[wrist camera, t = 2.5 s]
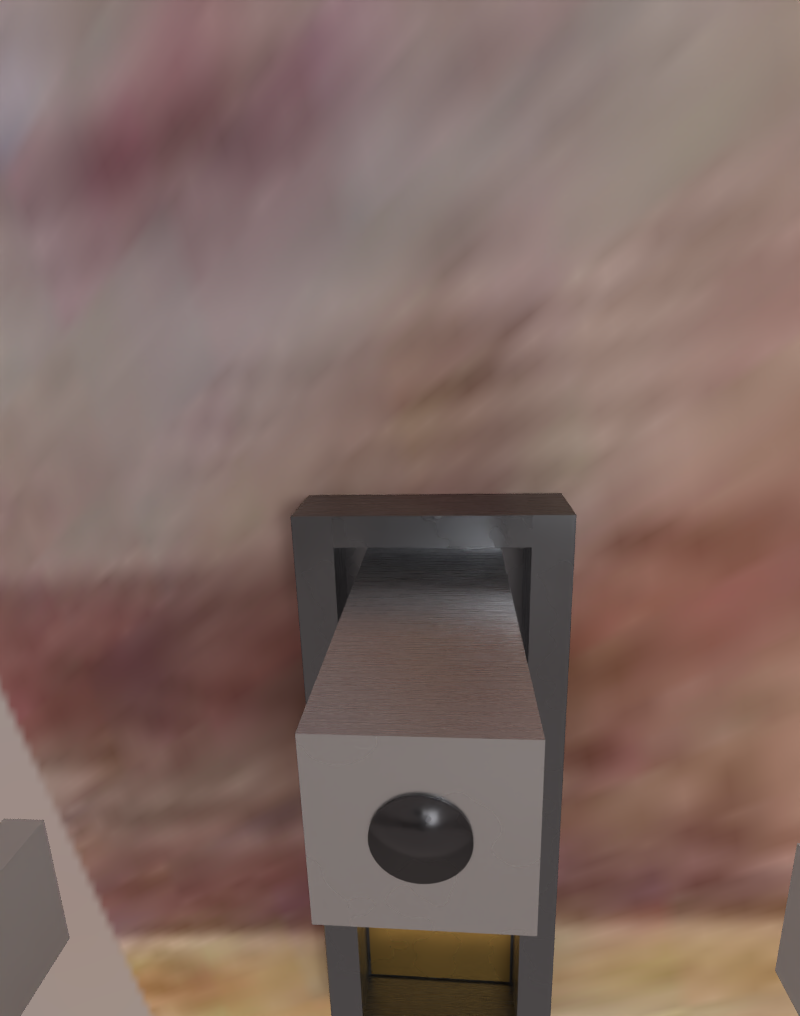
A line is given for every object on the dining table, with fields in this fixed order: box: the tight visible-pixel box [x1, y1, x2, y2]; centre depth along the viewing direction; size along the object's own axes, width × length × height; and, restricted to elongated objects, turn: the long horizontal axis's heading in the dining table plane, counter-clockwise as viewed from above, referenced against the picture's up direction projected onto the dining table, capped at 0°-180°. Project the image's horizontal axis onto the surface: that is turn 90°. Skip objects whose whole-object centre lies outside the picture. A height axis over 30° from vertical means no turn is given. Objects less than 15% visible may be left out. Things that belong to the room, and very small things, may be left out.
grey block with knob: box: [295, 548, 545, 936], centre depth 16 cm, size 4×4×10 cm
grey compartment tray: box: [291, 493, 576, 1016], centre depth 22 cm, size 22×9×2 cm, turn 2°
